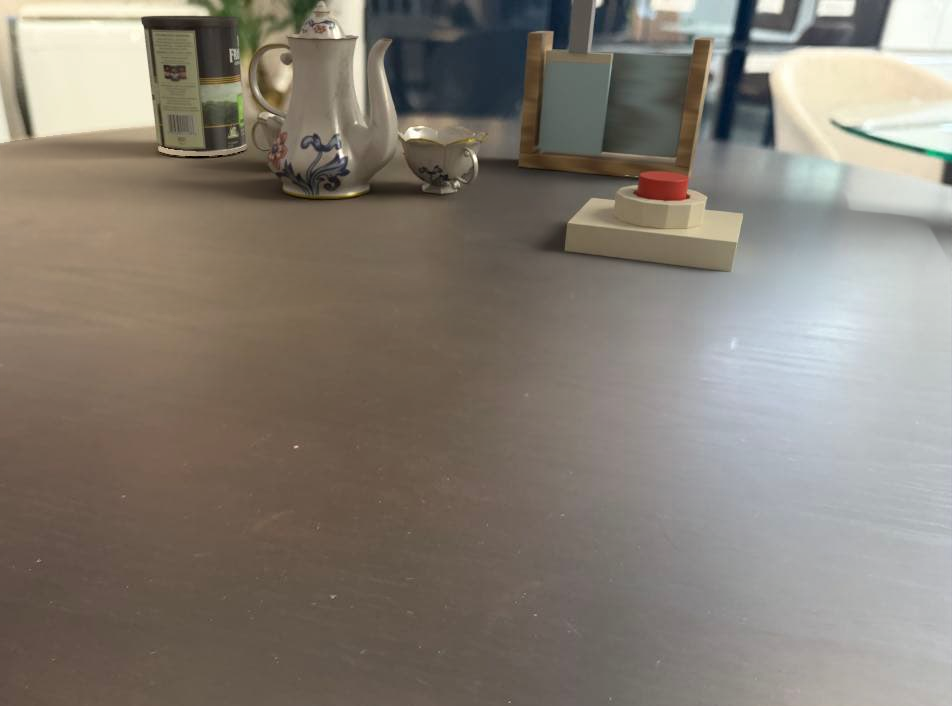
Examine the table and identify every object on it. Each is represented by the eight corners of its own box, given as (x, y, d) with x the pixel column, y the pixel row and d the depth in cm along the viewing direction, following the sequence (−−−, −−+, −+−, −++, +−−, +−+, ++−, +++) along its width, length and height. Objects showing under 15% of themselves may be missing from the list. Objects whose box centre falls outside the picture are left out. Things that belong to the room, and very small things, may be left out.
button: (687, 197, 64) (691, 173, 63) (682, 207, 61) (686, 182, 60) (640, 192, 65) (643, 169, 64) (632, 201, 62) (636, 178, 61)
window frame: (692, 174, 90) (714, 37, 84) (687, 182, 86) (711, 39, 80) (529, 159, 96) (540, 30, 90) (518, 166, 92) (528, 32, 86)
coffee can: (244, 141, 103) (235, 15, 97) (249, 157, 94) (240, 19, 88) (157, 143, 101) (143, 14, 94) (154, 159, 92) (138, 18, 85)
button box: (738, 240, 66) (748, 190, 65) (731, 272, 59) (742, 216, 57) (588, 223, 70) (593, 175, 69) (564, 251, 63) (569, 198, 61)
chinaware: (505, 201, 84) (525, 19, 78) (434, 220, 70) (450, 0, 64) (275, 170, 95) (276, 9, 89) (174, 182, 81) (167, -9, 75)
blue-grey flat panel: (602, 153, 90) (623, -24, 82) (599, 155, 89) (620, -24, 81) (540, 147, 92) (555, -25, 85) (536, 150, 91) (551, -25, 83)
